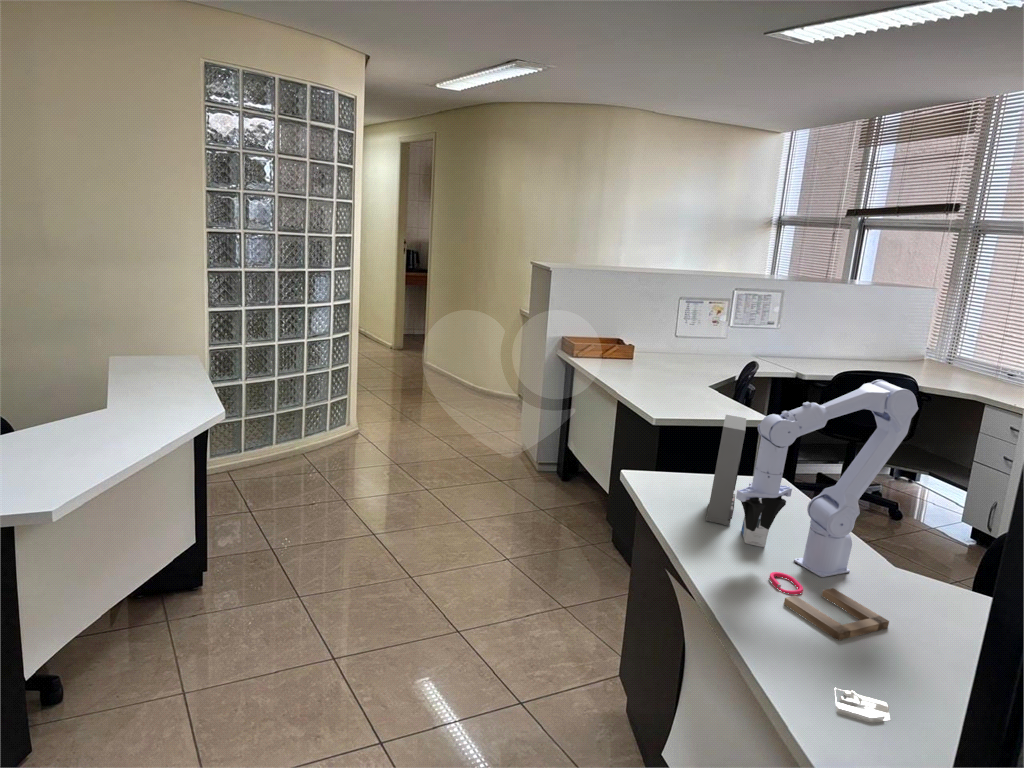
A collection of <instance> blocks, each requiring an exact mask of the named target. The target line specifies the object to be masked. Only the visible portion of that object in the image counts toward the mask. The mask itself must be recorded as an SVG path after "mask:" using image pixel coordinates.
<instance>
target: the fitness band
mask: <svg viewBox="0 0 1024 768" xmlns="http://www.w3.org/2000/svg"><path fill="white" fill-rule="evenodd" d="M776 576H777V577H776ZM775 577H776V578H780V577H783V578H782V579H784V578H787V579H789V580H790V581H792V582H793V583H794V585H796V587H798V589H795V590H793V589H792V590H789V589H783V588H781V587H782V584H781V583H780V582H779V581H778V580H777V579H776V578H775ZM768 579H769V580H770V581H771V582H772V584H773V585H774V586H775V587H776V588H778V589H779V590H781V591H782V592H781V591H780V592H781V593H783V592H785V593H789V594H800V593H803V592H804V587H803V584H801V583H800V582H799V581H798V580H797V579H796V578H795V577H793V576H792V575H790V574H787V573H784V572H779V571H773V572H770V574H769V578H768ZM769 580H768V581H769ZM770 581H769V582H770ZM790 581H789V582H790ZM771 582H770V583H771ZM772 584H771V585H772ZM773 585H772V586H773ZM794 585H793V586H794ZM774 586H773V587H774ZM775 587H774V588H775ZM796 587H795V588H796ZM776 588H775V589H776ZM779 590H778V591H779ZM785 593H784V594H785ZM789 594H788V595H789Z"/></svg>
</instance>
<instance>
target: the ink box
mask: <svg viewBox="0 0 1024 768" xmlns="http://www.w3.org/2000/svg"><path fill="white" fill-rule="evenodd" d="M759 501H760V503H762V500H761V498H759ZM760 519H761V514H760V516H759V519H758V523H757V527H756V529H755V531H751V530H749V529H747V528H746V523H745V515H744V516H743V520H742V524H741V533H742V537H743V541H744V544H748V545H752V546H757V547H762V548H766V543H767V540H768V535H769V533H770V532H769V530H770V528H769V529H766V528H764V527H762V526H760Z"/></svg>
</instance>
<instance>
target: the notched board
mask: <svg viewBox="0 0 1024 768" xmlns="http://www.w3.org/2000/svg"><path fill="white" fill-rule="evenodd" d="M822 596H823V597H825V598H826V599H828V600H829V601H828V600H827V601H828V602H830V601H831V602H833V603H835V604H836V605H838V606H839V607H841V608H843V609H844V610H846V611H847V612H846V611H845V612H846V613H848V614H849V613H850V615H851V616H853V617H854V616H855V617H854V618H855V619H857V620H856V621H854V622H853V621H852V622H849V623H845V624H841V623H839V622H838V621H837V620H836V619H833V618H832V617H830V616H829V615H827V614H826V613H824V612H823V611H821V610H819V609H818V608H816V607H815V606H813V605H811V604H810V603H808V602H806V600H803V599H802V598H801V597H799V596H798V595H790V596H788V597H784V601H783V605H784V604H785V605H786V606H785V605H784V606H785V607H787V606H788V607H789V608H788V607H787V608H788V609H790V608H791V609H792V610H791V609H790V610H791V611H793V610H794V611H795V612H794V611H793V612H794V613H796V612H797V613H798V614H797V613H796V614H797V615H799V614H800V615H801V617H802V616H803V617H804V618H803V617H802V618H803V619H805V618H806V619H807V620H806V619H805V620H806V621H808V622H809V621H810V622H809V623H811V624H812V623H813V624H812V625H814V626H815V625H816V626H815V627H817V628H818V629H820V630H821V631H823V632H824V633H826V634H828V635H830V637H832V638H834V639H835V640H836V641H842V640H845V639H846V640H847V639H850V638H851V639H852V638H855V637H858V636H862V635H866V634H871V633H873V632H877V631H881V630H885V629H888V627H889V624H890V620H888V619H886V617H883V616H881V615H880V614H878V613H876V612H875V611H873V610H872V609H870V608H868V607H866V606H864V605H863V604H862V603H860V602H858V601H856V600H854V599H853V598H851V597H849V596H847V595H846V594H844V593H842V592H840V591H839V590H837V588H834V587H832V588H827V589H826V588H825V589H823V590H822V594H821V597H822ZM823 597H822V598H823ZM825 598H824V599H825ZM826 599H825V600H826ZM831 602H830V603H831ZM833 603H832V604H833ZM835 604H834V605H835ZM836 605H835V606H836ZM838 606H837V607H838ZM839 607H838V608H839ZM841 608H840V609H841ZM843 609H842V610H843ZM844 610H843V611H844ZM800 615H799V616H800Z"/></svg>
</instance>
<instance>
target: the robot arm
mask: <svg viewBox="0 0 1024 768" xmlns="http://www.w3.org/2000/svg"><path fill="white" fill-rule="evenodd" d="M861 410H868V411H871V413H872V414H873V416H874V420H875V423H876V428H875V430H874V432H873V433H872V434H871V435H870V436H869V438H868V439H867V441H866V442H865V444H864V445H863V447H862V448H861V449H860V451H859V452H858V453H857V455H856V456H855V457H854V459H853V460H852V461H851V463H850V464H849V466H847V468H846V469H845V471H844V472H843V473H842V475H841V477H840V478H839V480H837V482H836V484H834V485H832V486H829V487H825V488H823V489H822V491H821V492H820V493H819V494H818V495H817V496H814V497H813V498H812V499H811V500H810V501H809V502H808V505H807V510H806V511H807V515H808V516H809V518H810V522H809V529H808V534H807V538H806V544H805V549H804V552H803V557H797V558H793V562H795V563H796V564H798V565H800V566H802V567H803V568H804V569H806V570H808V571H810V572H812V573H813V574H815V575H817V576H818V577H820V578H824V577H829V576H835V575H840V574H846V573H850V571H851V569H850V568H848V565H849V561H850V555H851V552H852V548H853V547H852V546H853V540H852V537H851V535H850V534H851V533H852V531H853V529H855V528H854V527H855V523H856V520H857V518H858V517H859V515H860V512H861V511H860V506H859V500H860V498H861V497H862V495H864V493H865V492H866V491H867V489H868V488H869V486H870V485H871V484H872V482H873V481H874V480H875V478H876V477H877V476H878V474H879V473H880V471H881V470H882V469H883V467H884V466H885V465H886V464H887V462H888V461H889V460H890V458H891V457H892V455H893V454H894V453H895V451H896V450H897V449H898V447H899V446H900V445H901V443H902V442H903V440H904V439H905V438H906V436H907V435H908V432H909V429H910V426H911V421H912V418H913V417H914V416H915V415H916V413H917V412H918V410H919V407H918V402H917V398H916V395H915V394H914V393H913V391H911V390H910V389H907V388H902V387H900V386H897V385H895V384H892V383H889V382H888V381H886V380H883V379H876V380H873V381H871V382H867V383H863V384H862V385H861V386H860V387H859V388H857V389H855V390H853V391H850V392H847V393H846V394H844V395H843V394H842V395H841V396H839V397H837V398H834V399H832V400H829V401H827V402H824V403H823V404H822V403H821V404H818V403H817V402H809V401H806V402H803V403H802V406H800V407H796V408H794V409H791V410H783V411H781V414H776V413H772V414H769V415H766V416H765V417H764V418H763V419H761V421H760V423H758V424H757V432H758V434H759V435H760V441H759V447H758V452H757V456H756V457H757V458H756V463H755V467H754V472H753V477H752V482H749V484H748V486H746V487H744V488H742V489H737V491H736V494H735V500H738V501H740V503H741V506H742V509H743V512H744V516H745V523H746V528H747V529H749V530H751V531H755V529H756V527H757V523H758V519H759V516H760V514H761V519H760V526H762V527H764V528H766V529H769V530H770V528H771V527H772V525H773V523H774V520H775V519H776V517H777V515H778V514H779V513H780V511H781V510H782V509H783V508H784V507H786V503H787V500H786V499H784V498H782V497H787V498H789V497H791V496H792V491H793V488H792V487H790V486H788V485H783V484H782V480H783V479H782V478H783V474H784V470H785V464H786V460H787V456H788V455H787V454H788V451H789V447H790V446H791V445H793V443H795V441H796V439H797V438H799V437H801V436H804V435H806V434H810V433H812V432H815V431H816V430H820V429H823V428H825V426H826V425H827V423H828V421H829V420H831V419H835V418H838V417H841V416H844V415H848V414H851V413H854V412H857V411H861ZM759 498H761V500H762V503H760V501H759Z"/></svg>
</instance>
